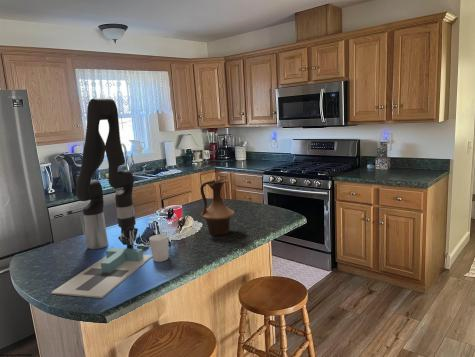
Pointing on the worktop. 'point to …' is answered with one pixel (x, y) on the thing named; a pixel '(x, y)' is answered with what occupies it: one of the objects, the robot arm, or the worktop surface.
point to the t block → (120, 258)
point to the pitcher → (216, 209)
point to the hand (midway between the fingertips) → (130, 251)
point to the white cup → (159, 247)
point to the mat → (99, 279)
